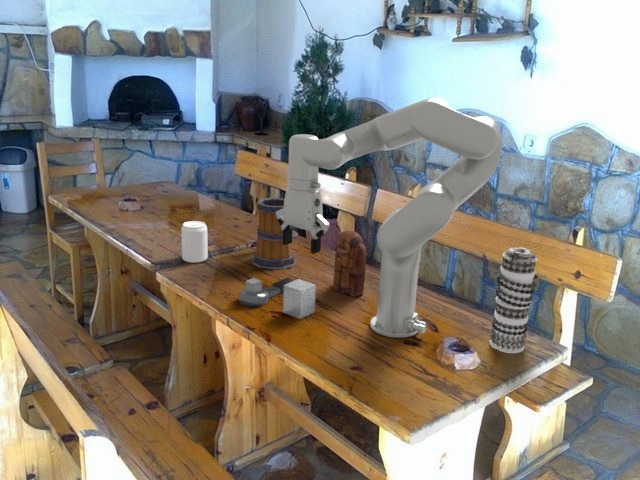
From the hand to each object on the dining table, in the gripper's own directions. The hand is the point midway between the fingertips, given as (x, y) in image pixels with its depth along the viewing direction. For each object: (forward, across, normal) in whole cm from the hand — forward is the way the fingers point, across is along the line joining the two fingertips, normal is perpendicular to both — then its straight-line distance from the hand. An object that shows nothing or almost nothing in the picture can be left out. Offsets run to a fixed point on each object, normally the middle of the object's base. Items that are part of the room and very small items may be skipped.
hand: (301, 248), depth 170 cm
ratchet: (+18, +14, -3) cm, 23 cm away
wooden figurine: (+18, 0, -22) cm, 29 cm away
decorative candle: (+19, -50, -21) cm, 57 cm away
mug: (+18, +34, -26) cm, 46 cm away
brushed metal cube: (+18, 0, 0) cm, 18 cm away
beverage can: (+18, +51, -7) cm, 55 cm away
